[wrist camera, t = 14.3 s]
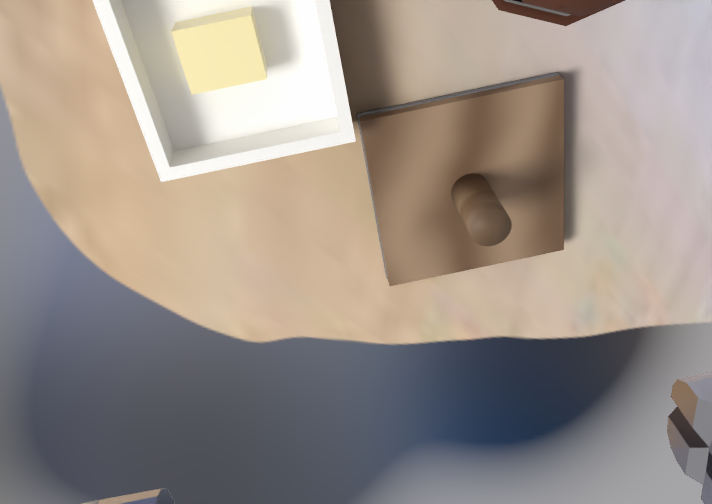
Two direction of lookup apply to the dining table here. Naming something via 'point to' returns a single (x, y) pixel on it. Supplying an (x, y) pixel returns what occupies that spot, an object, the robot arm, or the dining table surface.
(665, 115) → the dining table surface
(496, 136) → the lid
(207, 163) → the dish
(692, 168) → the dining table surface
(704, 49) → the dining table surface
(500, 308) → the dining table surface
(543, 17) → the ice cream bowl
